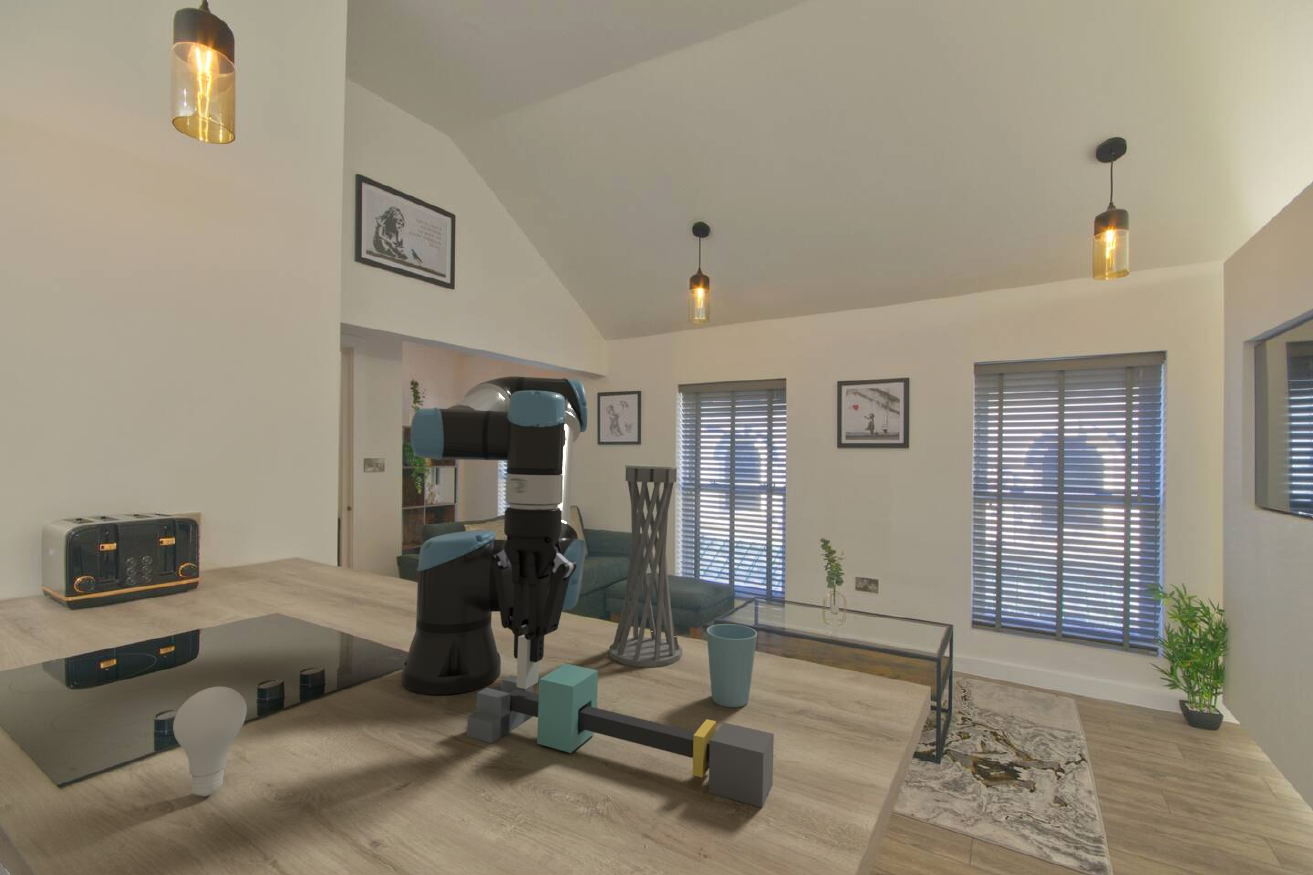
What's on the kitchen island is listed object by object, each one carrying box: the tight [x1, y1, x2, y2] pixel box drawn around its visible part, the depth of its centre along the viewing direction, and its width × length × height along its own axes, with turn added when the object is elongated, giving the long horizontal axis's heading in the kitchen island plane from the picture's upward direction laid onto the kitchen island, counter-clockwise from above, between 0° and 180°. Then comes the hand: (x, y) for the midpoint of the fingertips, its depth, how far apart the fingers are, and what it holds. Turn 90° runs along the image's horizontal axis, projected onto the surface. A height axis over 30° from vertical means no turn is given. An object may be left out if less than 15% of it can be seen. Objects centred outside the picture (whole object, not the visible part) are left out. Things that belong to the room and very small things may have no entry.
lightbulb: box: [172, 686, 248, 798], centre depth 60 cm, size 6×6×11 cm
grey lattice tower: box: [608, 464, 683, 668], centre depth 107 cm, size 14×13×35 cm
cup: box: [706, 623, 758, 708], centre depth 87 cm, size 8×8×10 cm
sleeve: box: [536, 663, 599, 754], centre depth 74 cm, size 5×6×8 cm
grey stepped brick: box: [466, 674, 534, 744], centre depth 78 cm, size 4×10×5 cm, turn 155°
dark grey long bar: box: [510, 689, 717, 778], centre depth 70 cm, size 34×4×4 cm, turn 66°
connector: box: [708, 721, 775, 809], centre depth 64 cm, size 6×5×6 cm
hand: (527, 684), depth 76 cm, fingers closed
